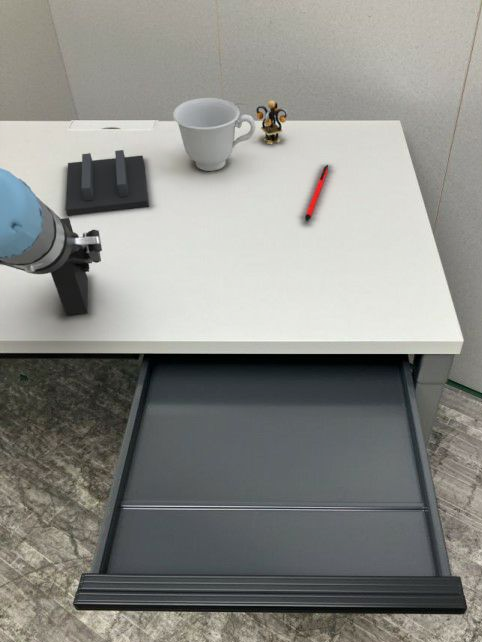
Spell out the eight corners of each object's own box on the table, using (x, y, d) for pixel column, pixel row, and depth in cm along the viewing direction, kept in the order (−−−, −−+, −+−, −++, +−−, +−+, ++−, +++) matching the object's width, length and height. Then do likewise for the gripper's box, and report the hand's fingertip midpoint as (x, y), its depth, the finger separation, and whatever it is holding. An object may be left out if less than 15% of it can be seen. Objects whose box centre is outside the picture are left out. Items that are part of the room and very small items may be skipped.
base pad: (67, 215, 102) (61, 196, 100) (69, 168, 113) (64, 150, 110) (148, 206, 104) (145, 187, 101) (143, 161, 115) (140, 142, 112)
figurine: (254, 136, 121) (255, 97, 114) (275, 131, 122) (277, 93, 116) (265, 148, 118) (266, 109, 112) (286, 143, 120) (289, 104, 114)
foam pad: (66, 316, 86) (43, 254, 77) (67, 281, 91) (46, 220, 83) (87, 313, 86) (67, 251, 78) (87, 278, 91) (68, 217, 83)
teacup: (251, 183, 109) (249, 131, 102) (172, 177, 111) (165, 125, 103) (260, 151, 117) (259, 100, 110) (187, 146, 118) (181, 95, 111)
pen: (329, 168, 113) (329, 162, 112) (308, 224, 101) (308, 219, 100) (324, 167, 113) (325, 162, 113) (303, 223, 101) (303, 218, 100)
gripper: (-40, 280, 65) (21, 296, 88) (110, 261, 67) (130, 282, 90) (-53, 211, 64) (12, 245, 87) (98, 194, 66) (122, 232, 89)
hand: (72, 264), depth 89 cm, fingers closed on foam pad, 3 cm apart
